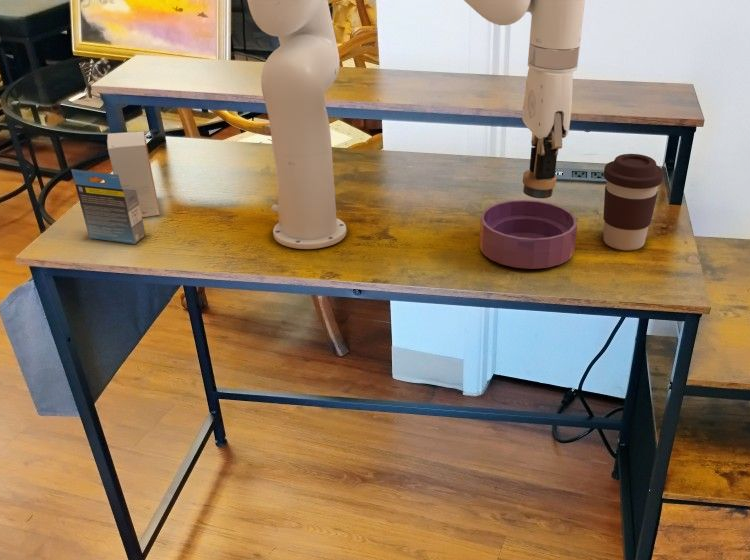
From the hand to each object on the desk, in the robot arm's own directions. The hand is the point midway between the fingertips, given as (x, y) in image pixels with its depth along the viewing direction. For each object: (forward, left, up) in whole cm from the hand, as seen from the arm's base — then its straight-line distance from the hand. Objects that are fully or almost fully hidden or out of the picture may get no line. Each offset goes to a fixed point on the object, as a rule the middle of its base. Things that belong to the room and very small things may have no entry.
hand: (541, 173), depth 136 cm
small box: (-62, -38, -14) cm, 74 cm away
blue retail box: (-54, -47, -14) cm, 73 cm away
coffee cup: (+9, +14, -14) cm, 22 cm away
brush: (0, 0, -3) cm, 3 cm away
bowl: (-1, -1, -14) cm, 14 cm away
